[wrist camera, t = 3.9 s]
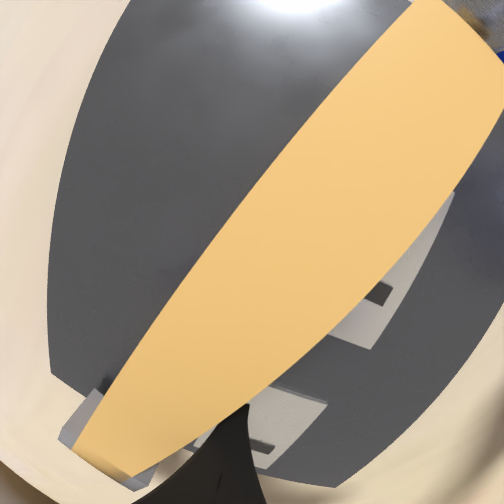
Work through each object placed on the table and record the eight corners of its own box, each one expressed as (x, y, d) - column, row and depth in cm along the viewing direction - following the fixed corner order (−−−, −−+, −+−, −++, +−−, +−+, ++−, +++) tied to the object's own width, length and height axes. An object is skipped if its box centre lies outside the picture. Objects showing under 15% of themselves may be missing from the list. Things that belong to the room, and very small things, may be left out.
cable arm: (368, 20, 6) (395, -34, 3) (474, 119, 6) (535, 109, 3) (86, 403, 12) (57, 439, 9) (153, 451, 12) (133, 491, 9)
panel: (545, 128, 6) (626, 130, 1) (334, 475, 13) (336, 547, 8) (180, -46, 7) (127, -116, 1) (60, 363, 13) (6, 417, 8)
